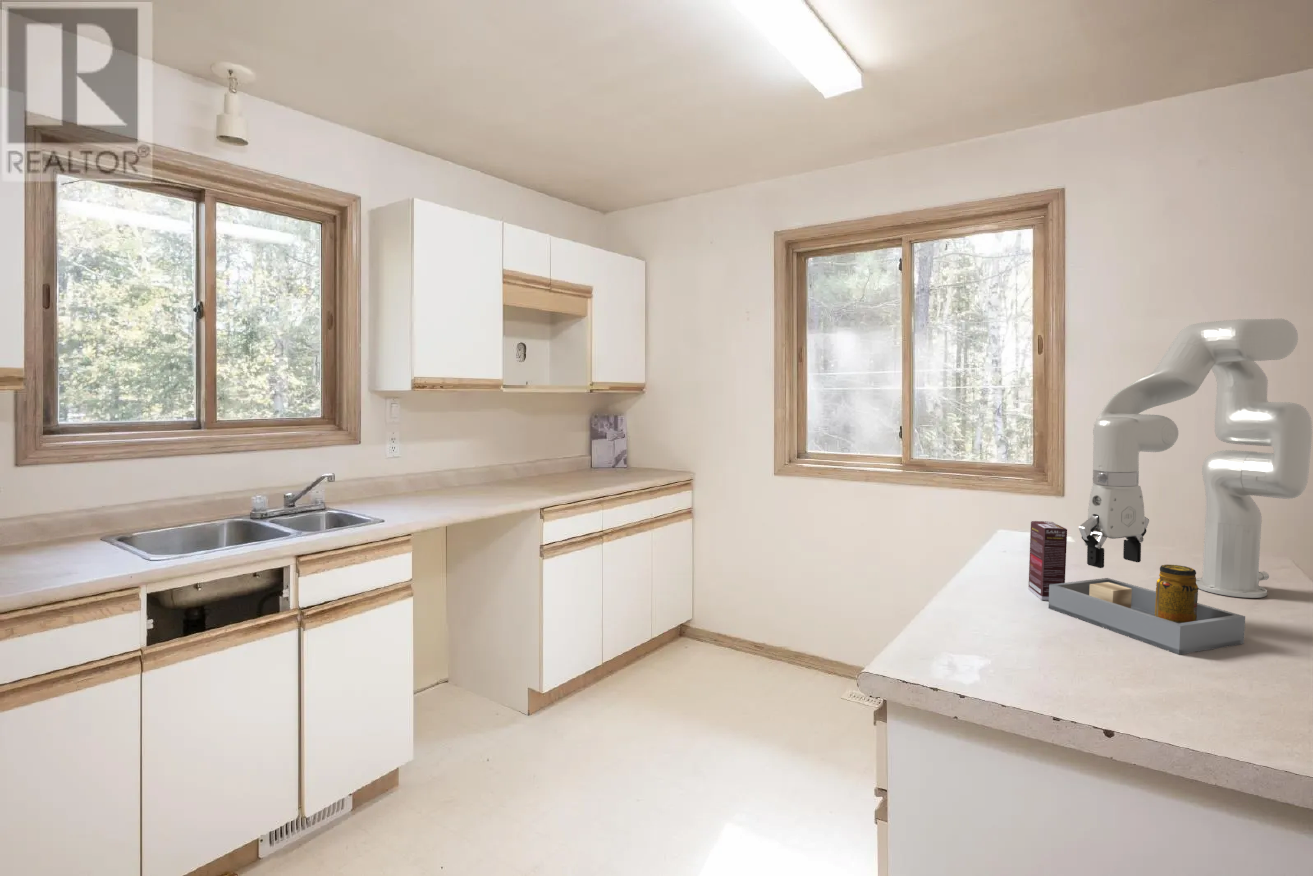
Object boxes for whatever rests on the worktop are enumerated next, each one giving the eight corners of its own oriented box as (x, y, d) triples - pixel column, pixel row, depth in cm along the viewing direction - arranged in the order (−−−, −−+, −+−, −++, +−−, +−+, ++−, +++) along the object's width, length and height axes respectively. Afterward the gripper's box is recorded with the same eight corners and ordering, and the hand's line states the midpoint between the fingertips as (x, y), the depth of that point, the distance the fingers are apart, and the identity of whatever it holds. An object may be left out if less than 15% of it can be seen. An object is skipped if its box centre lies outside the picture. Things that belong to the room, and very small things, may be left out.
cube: (1107, 605, 137) (1108, 582, 137) (1130, 613, 133) (1131, 588, 132) (1088, 608, 136) (1089, 584, 136) (1112, 616, 131) (1113, 591, 131)
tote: (1106, 600, 143) (1107, 577, 143) (1243, 643, 119) (1245, 616, 118) (1048, 608, 139) (1049, 584, 138) (1178, 654, 114) (1180, 626, 113)
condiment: (1167, 623, 127) (1170, 561, 126) (1218, 638, 119) (1221, 572, 118) (1142, 628, 124) (1144, 565, 123) (1192, 644, 116) (1196, 576, 116)
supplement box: (1065, 602, 143) (1068, 528, 142) (1041, 600, 144) (1043, 528, 143) (1050, 590, 151) (1053, 521, 150) (1027, 589, 152) (1029, 520, 151)
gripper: (1100, 485, 126) (1098, 573, 128) (1166, 478, 131) (1164, 563, 133) (1065, 480, 134) (1064, 564, 135) (1129, 473, 139) (1127, 554, 140)
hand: (1113, 563), depth 134 cm, fingers open, 9 cm apart
